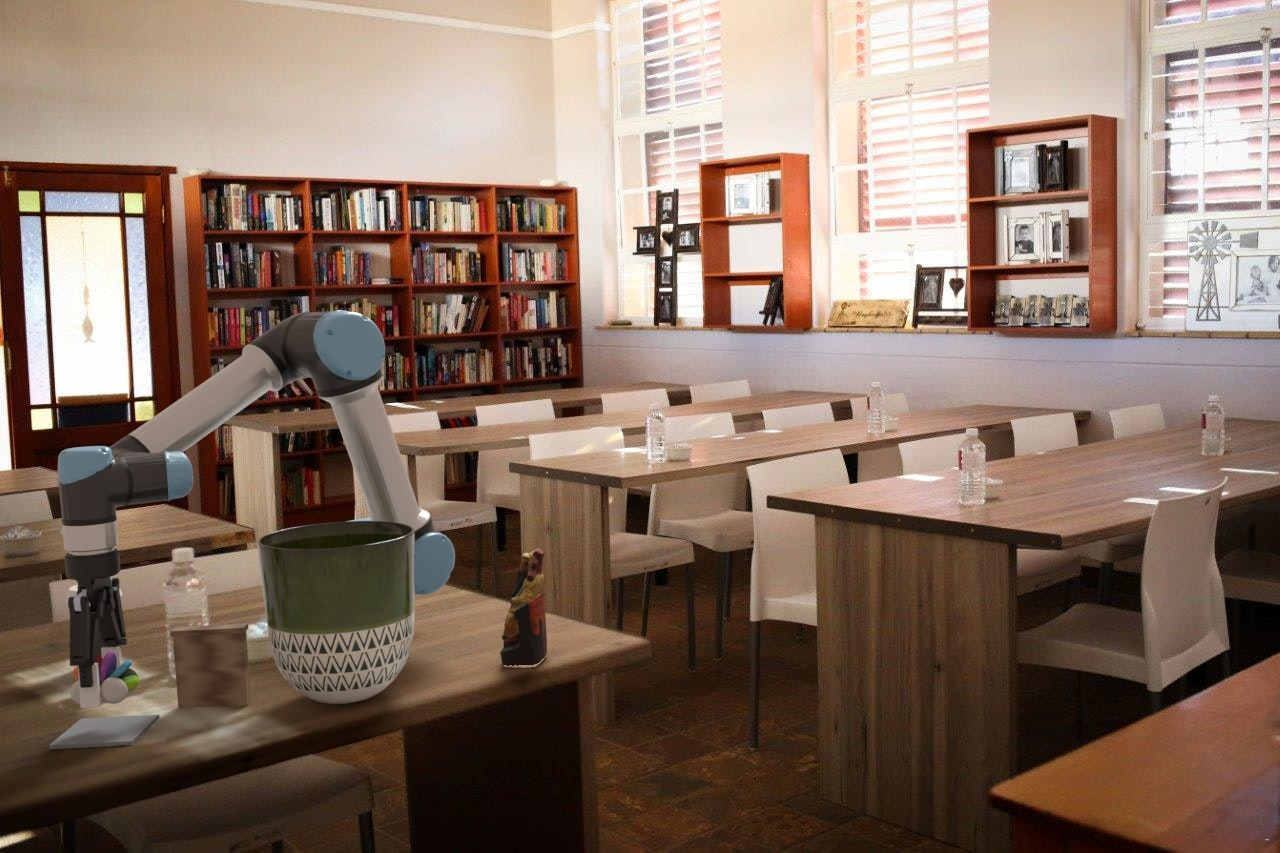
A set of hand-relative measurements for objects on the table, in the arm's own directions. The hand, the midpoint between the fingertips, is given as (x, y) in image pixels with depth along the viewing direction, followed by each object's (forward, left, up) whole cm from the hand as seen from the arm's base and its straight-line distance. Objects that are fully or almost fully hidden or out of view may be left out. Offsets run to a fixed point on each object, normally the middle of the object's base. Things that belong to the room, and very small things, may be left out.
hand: (102, 697), depth 190 cm
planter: (-34, -12, -6) cm, 37 cm away
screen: (-13, -12, -6) cm, 18 cm away
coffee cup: (+15, -37, -6) cm, 40 cm away
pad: (0, 0, -6) cm, 6 cm away
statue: (-62, -28, -6) cm, 68 cm away
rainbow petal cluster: (-1, 0, 0) cm, 1 cm away
